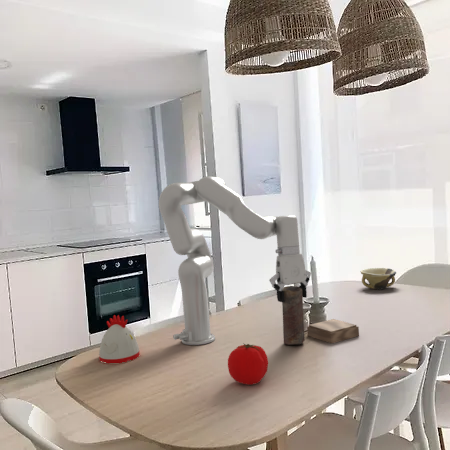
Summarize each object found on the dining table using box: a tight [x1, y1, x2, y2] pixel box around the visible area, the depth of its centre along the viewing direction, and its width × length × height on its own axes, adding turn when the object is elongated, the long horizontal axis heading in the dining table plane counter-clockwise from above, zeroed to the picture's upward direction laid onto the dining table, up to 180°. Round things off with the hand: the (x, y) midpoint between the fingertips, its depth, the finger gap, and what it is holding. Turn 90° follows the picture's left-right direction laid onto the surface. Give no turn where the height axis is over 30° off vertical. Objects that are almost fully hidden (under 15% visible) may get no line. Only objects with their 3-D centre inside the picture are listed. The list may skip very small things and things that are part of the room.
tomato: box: [227, 343, 269, 386], centre depth 141 cm, size 12×12×11 cm
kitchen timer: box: [98, 314, 141, 364], centre depth 172 cm, size 14×14×15 cm
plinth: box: [306, 318, 360, 344], centre depth 179 cm, size 13×13×4 cm
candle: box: [281, 285, 306, 346], centre depth 173 cm, size 8×7×20 cm
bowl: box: [360, 267, 397, 290], centre depth 255 cm, size 18×18×10 cm
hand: (292, 299), depth 172 cm, fingers open, 9 cm apart
